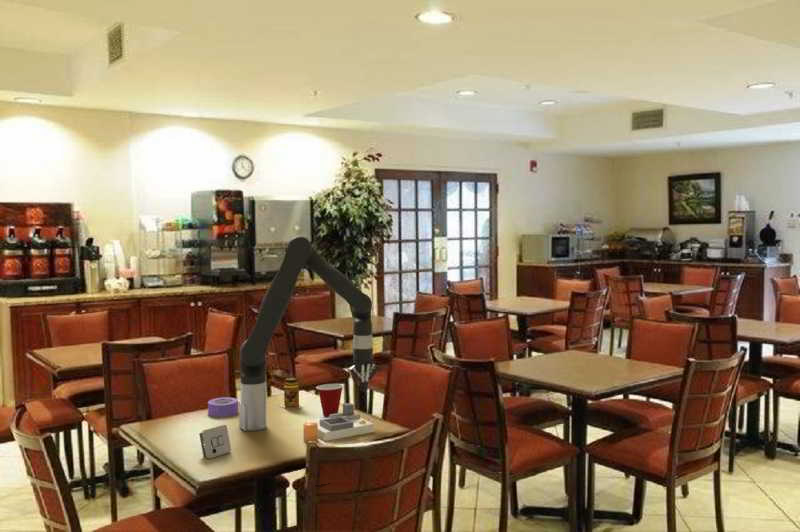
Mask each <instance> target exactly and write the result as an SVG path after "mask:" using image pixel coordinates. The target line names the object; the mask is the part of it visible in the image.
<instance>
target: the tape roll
mask: <svg viewBox="0 0 800 532" xmlns="http://www.w3.org/2000/svg"><path fill="white" fill-rule="evenodd" d="M207 414H208V416H210V417H216V418H217V417H218V418H222V417H224V418H225V417H231V416H234V415H237V414H239V400H238V398H236V397H228V396H227V397H217V398H212V399H210V400H208V401H207Z"/></svg>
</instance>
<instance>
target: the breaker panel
mask: <svg viewBox="0 0 800 532" xmlns="http://www.w3.org/2000/svg"><path fill="white" fill-rule="evenodd" d="M307 422H315V423H318V439H320V440H322V441H324V442H326V441H333V440H338V439H344V438H348V437H353V436H360V435H364V434H370V433H375V431H374V429H375V428H374V426H375V425H374V423H373V422H371V421H368V420H366V419H364V418H362V417H361V414H360V413H354V415H348V416H343V412H338V413H337V414H330V415H329V417H326V418H319V419H314V420H308V421H305V422H304V423H307Z"/></svg>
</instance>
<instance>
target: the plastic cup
mask: <svg viewBox="0 0 800 532" xmlns="http://www.w3.org/2000/svg"><path fill="white" fill-rule="evenodd" d="M344 386H345V385H344V384H342V383H325V384H321V385H317V386H316V389H317V392H318V395H319V401H320V405H321V410H322V414H323V416H324V417H326V418H329V415H330V414H337V413H339V408H340V405H341V397H342V393H343V388H344Z"/></svg>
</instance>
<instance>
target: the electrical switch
mask: <svg viewBox="0 0 800 532" xmlns="http://www.w3.org/2000/svg"><path fill="white" fill-rule="evenodd" d="M198 435H199V440H200V445H201V449H202V450H201V451H202V456H203V457H206V459H208V460H209V459H213V458H216V457H220V456H222V455H225V454H229V453H231V451H232V447H231V442H230V436H229V431H228V427H227V425H226V424H221V425H218V426H214V427H210V428H206V429H203V430H202V431H201V432H200V433H199V434H198Z"/></svg>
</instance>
